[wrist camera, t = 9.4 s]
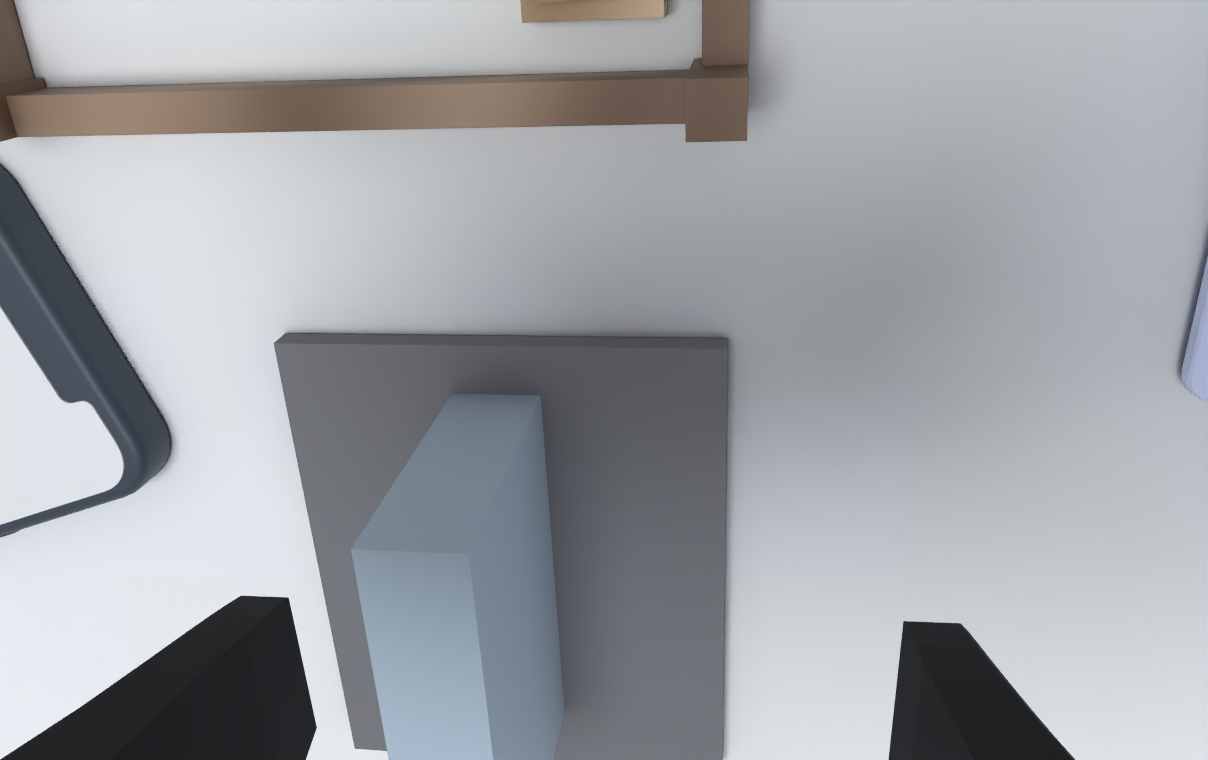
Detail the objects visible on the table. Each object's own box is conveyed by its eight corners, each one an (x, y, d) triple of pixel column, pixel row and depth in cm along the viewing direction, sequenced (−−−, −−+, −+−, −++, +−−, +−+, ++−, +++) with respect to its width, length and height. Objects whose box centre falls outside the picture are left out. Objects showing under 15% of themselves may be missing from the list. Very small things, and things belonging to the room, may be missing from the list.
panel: (540, 395, 21) (468, 554, 15) (564, 710, 24) (513, 928, 19) (452, 394, 21) (351, 549, 16) (488, 706, 25) (417, 918, 19)
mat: (727, 337, 20) (727, 349, 20) (722, 757, 25) (722, 776, 25) (285, 333, 22) (273, 343, 21) (362, 731, 27) (354, 748, 26)
